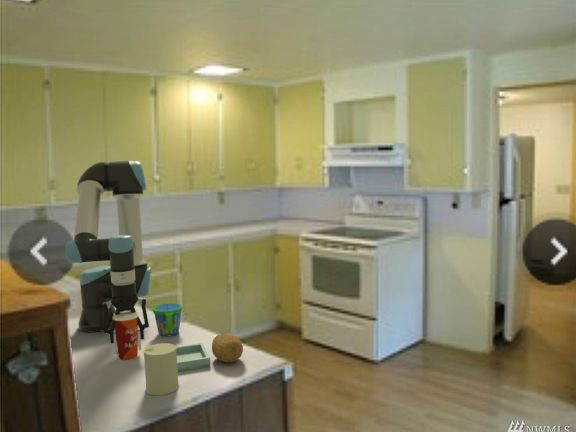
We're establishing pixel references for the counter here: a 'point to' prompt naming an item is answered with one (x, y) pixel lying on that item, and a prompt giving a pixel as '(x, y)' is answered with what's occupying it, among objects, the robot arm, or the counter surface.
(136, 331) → the coffee cup
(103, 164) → the robot arm
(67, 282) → the counter surface
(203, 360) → the tray
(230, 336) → the potato
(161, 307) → the snack cup
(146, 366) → the can
